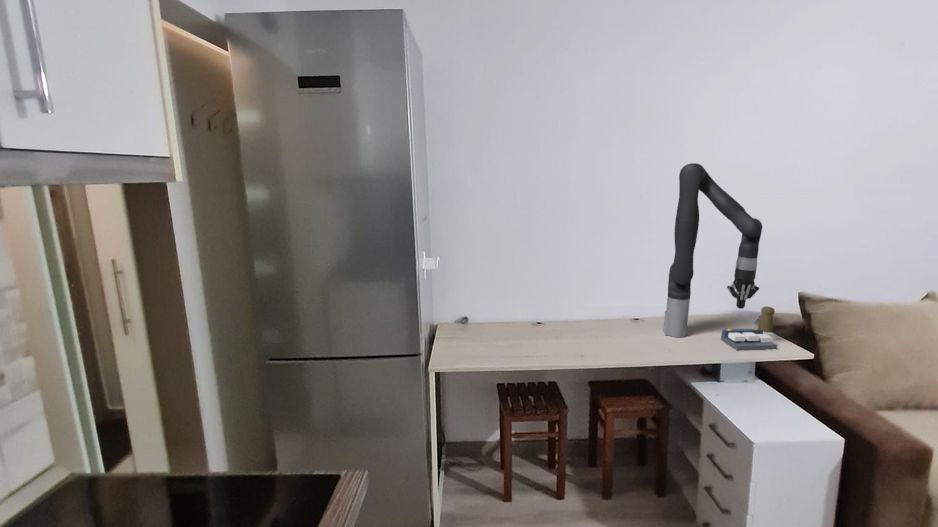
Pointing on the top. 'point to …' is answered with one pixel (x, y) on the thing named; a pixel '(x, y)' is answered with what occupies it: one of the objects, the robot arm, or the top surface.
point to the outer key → (764, 338)
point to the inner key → (736, 336)
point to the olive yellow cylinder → (766, 319)
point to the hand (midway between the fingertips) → (740, 308)
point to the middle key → (751, 336)
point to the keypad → (746, 344)
